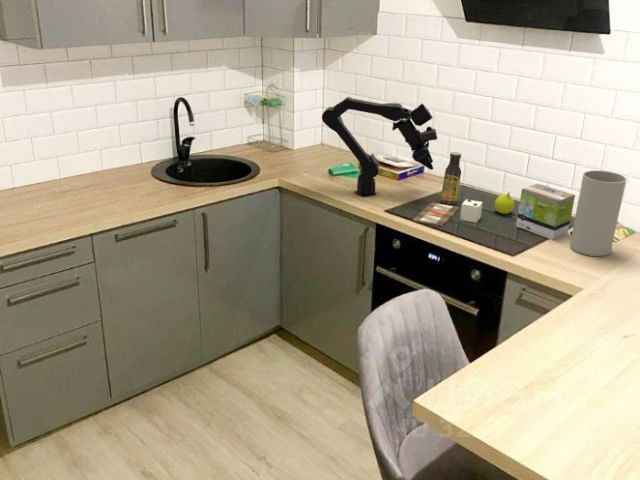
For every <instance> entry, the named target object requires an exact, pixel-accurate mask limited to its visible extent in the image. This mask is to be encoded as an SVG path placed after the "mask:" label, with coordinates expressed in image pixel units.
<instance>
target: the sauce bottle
mask: <svg viewBox="0 0 640 480" xmlns="http://www.w3.org/2000/svg"><path fill="white" fill-rule="evenodd" d="M461 158H462V153H461V152H459V151H452V152H450V155H449V161H448V162H449V163H448V165H447V167H446V168H445V170H444V171H445V172H444V176H443V180H442V181H443V182H442V189H441V195H440V197H441V198H440V199H441V200H440V202H442V203H443V205H449V206H453V205H455V204H457V202H458V197H459V192H460V190H459V189H460V184H461V175H462V169H461V167H460V164H461V163H460V162H461Z"/></svg>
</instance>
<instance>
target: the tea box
mask: <svg viewBox="0 0 640 480" xmlns="http://www.w3.org/2000/svg"><path fill="white" fill-rule="evenodd" d="M520 192H521V194H520V197H519V205H518V211H517V218H516V223H515V224H516V225H515V226H516V228H519V229H523V230H526V231H528V232H531V233H533V234H536V235H539V236H541V237H544V238H546V239H549V240H551V241H553V240H556V239H557V238H560V237H563V236H565V235H567V234H568V233H569V228H570V224H571V218H572V215H573V214H572V213H573V209H574V203H575V198H576V194H573V193H570V192H567V191H564V190H561V189H557V188H554V187H550V186H547V185H544V184H540V183H535V184H532V185H530V186H526V187H524V188H521V191H520Z"/></svg>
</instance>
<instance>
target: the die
mask: <svg viewBox="0 0 640 480" xmlns="http://www.w3.org/2000/svg"><path fill="white" fill-rule="evenodd" d="M483 204H484V203H483V201H480V200H479V201H478V200H472V199H468V198H467V199H465V200H464V201H463V202H462V203H461V208H460V218H459V220H460V221H465V222H470V223H478V222H479V221H480V219H481V217H482V210H483Z"/></svg>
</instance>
